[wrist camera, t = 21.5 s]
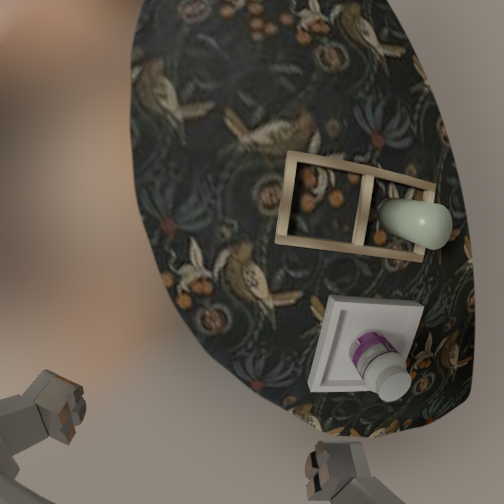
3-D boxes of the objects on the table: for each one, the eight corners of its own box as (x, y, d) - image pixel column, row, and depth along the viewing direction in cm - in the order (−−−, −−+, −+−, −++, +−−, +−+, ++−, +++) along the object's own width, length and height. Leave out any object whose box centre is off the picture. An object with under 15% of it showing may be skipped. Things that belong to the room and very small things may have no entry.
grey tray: (329, 294, 35) (334, 301, 33) (416, 300, 36) (424, 306, 34) (307, 382, 38) (310, 391, 36) (388, 380, 39) (394, 388, 37)
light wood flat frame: (287, 151, 32) (289, 150, 30) (430, 183, 33) (436, 184, 32) (274, 241, 34) (275, 243, 33) (417, 260, 35) (422, 262, 34)
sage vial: (381, 194, 33) (422, 199, 24) (410, 201, 33) (455, 208, 25) (375, 230, 34) (414, 246, 25) (404, 236, 34) (447, 252, 26)
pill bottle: (388, 346, 37) (422, 386, 27) (356, 369, 37) (383, 414, 28) (374, 319, 36) (409, 358, 26) (339, 343, 36) (366, 388, 27)
